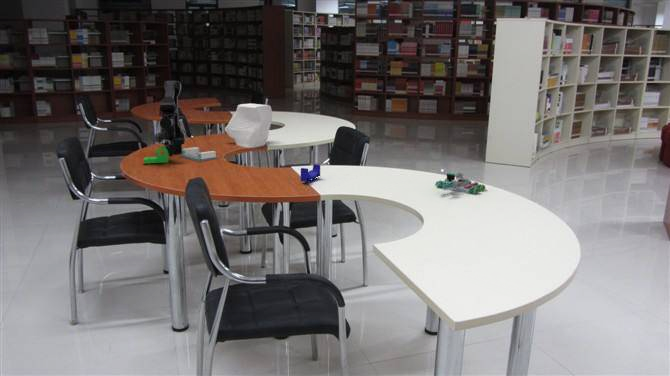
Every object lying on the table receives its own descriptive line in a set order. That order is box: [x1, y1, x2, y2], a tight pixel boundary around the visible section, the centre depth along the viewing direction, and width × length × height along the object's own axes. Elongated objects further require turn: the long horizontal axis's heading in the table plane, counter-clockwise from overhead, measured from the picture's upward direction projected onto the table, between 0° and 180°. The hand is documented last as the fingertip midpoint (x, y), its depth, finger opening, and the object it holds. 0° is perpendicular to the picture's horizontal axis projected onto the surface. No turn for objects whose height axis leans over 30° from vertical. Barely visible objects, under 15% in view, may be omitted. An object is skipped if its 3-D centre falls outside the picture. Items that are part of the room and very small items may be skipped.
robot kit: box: [435, 172, 486, 196], centre depth 230 cm, size 19×25×9 cm
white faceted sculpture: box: [224, 103, 273, 149], centre depth 330 cm, size 21×27×26 cm
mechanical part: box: [143, 146, 169, 164], centre depth 282 cm, size 12×6×8 cm, turn 108°
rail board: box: [179, 146, 219, 163], centre depth 295 cm, size 18×12×4 cm, turn 47°
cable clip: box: [300, 163, 321, 183], centre depth 252 cm, size 12×4×6 cm, turn 150°
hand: (170, 156), depth 284 cm, fingers closed
